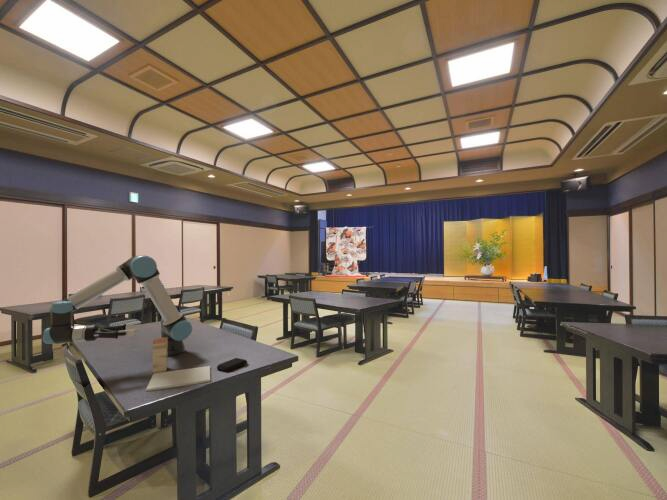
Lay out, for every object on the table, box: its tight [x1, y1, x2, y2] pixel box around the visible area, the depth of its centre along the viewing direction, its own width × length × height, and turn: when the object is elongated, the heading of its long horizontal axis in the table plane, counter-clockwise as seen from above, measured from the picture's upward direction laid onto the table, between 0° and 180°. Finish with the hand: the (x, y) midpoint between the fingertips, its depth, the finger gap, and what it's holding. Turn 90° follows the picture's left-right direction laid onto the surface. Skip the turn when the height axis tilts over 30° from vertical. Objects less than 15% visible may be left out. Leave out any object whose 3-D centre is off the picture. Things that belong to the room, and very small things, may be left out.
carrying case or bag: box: [216, 357, 248, 373], centre depth 162 cm, size 11×3×15 cm
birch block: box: [152, 337, 168, 374], centre depth 159 cm, size 6×6×16 cm
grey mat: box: [145, 365, 211, 392], centre depth 147 cm, size 26×20×1 cm
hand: (137, 329), depth 155 cm, fingers open, 13 cm apart
